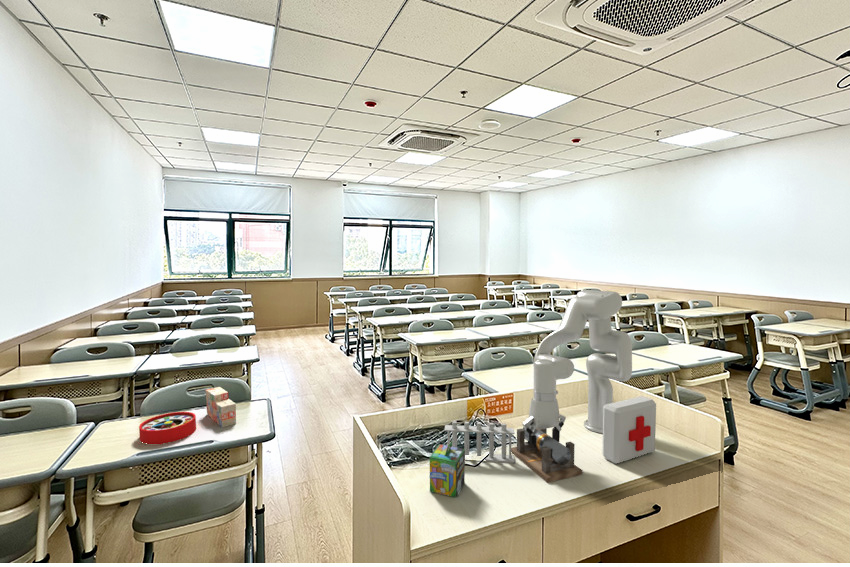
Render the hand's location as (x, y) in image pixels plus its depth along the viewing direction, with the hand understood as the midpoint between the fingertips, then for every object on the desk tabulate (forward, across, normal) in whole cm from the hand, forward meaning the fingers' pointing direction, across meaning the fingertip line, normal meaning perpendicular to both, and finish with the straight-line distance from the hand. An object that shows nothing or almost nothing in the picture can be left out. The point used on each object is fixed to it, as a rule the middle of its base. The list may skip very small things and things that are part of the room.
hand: (544, 442), depth 140 cm
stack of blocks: (+7, +114, -86) cm, 143 cm away
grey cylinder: (0, 0, 0) cm, 0 cm away
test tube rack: (+7, +20, -11) cm, 24 cm away
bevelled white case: (+7, -32, +7) cm, 34 cm away
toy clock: (+8, +133, -76) cm, 153 cm away
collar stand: (+7, 0, 0) cm, 7 cm away
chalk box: (+7, +38, +2) cm, 39 cm away
